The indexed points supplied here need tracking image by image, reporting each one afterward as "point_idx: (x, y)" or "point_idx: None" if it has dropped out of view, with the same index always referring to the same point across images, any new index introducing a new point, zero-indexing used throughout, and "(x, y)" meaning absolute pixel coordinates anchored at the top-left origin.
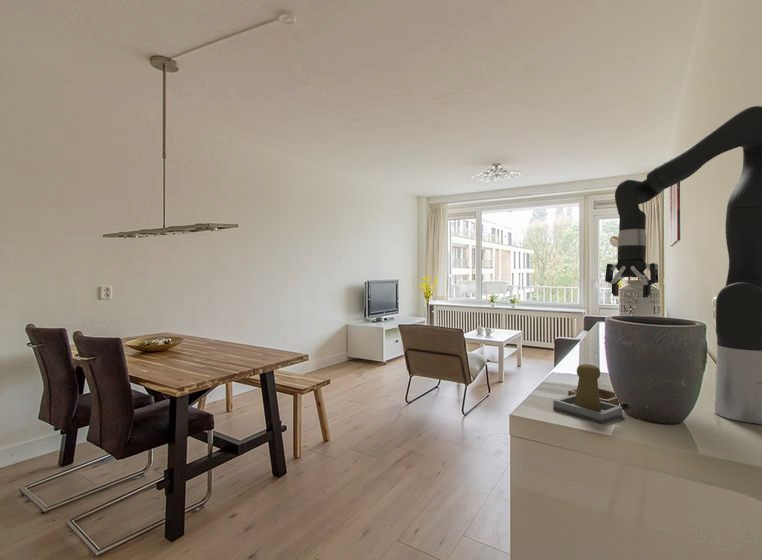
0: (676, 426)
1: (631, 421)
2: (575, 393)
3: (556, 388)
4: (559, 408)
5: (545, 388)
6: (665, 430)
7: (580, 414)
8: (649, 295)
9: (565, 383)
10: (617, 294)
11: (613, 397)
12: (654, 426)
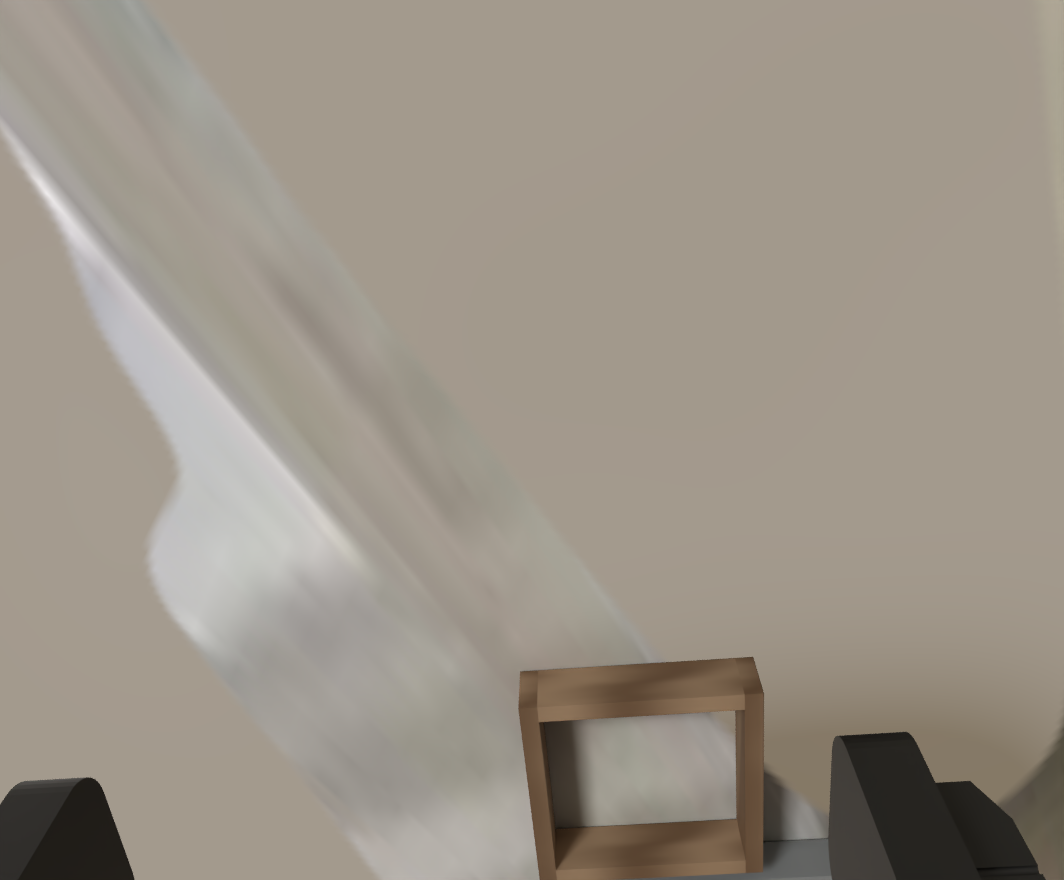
0: (1048, 769)
1: None
2: (582, 877)
3: (350, 724)
4: None
5: (325, 775)
6: None
7: None
8: (972, 803)
9: (278, 580)
10: (92, 851)
11: (746, 800)
12: None
